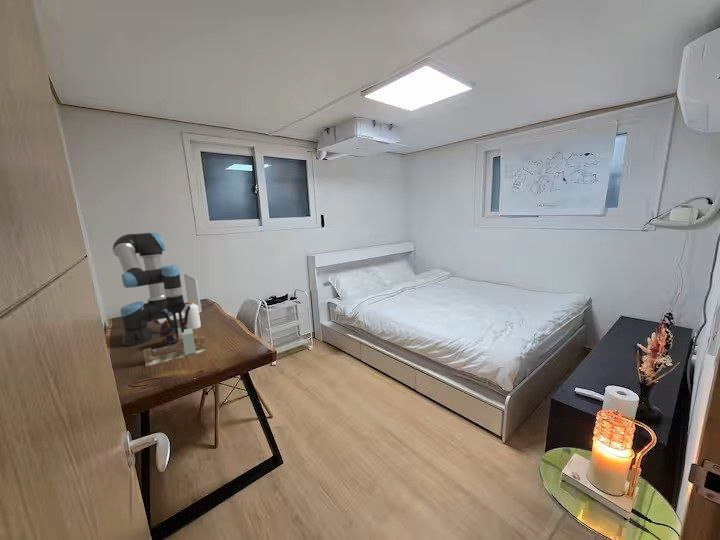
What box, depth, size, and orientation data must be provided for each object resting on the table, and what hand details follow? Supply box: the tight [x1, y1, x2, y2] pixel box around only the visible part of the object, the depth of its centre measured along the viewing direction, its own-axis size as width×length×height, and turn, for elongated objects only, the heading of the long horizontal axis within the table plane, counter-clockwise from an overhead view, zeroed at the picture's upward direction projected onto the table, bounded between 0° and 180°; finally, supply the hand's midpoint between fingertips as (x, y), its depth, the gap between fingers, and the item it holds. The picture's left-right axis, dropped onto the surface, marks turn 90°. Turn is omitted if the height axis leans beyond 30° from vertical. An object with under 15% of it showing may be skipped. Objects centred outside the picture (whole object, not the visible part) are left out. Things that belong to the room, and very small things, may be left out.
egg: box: [159, 319, 180, 346], centre depth 167 cm, size 11×11×15 cm
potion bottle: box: [184, 301, 202, 330], centre depth 191 cm, size 8×8×18 cm
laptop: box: [156, 273, 202, 324], centre depth 224 cm, size 34×28×28 cm
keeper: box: [182, 328, 196, 355], centre depth 155 cm, size 5×9×11 cm, turn 33°
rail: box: [142, 333, 207, 367], centre depth 153 cm, size 27×9×8 cm, turn 123°
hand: (180, 338), depth 153 cm, fingers closed
